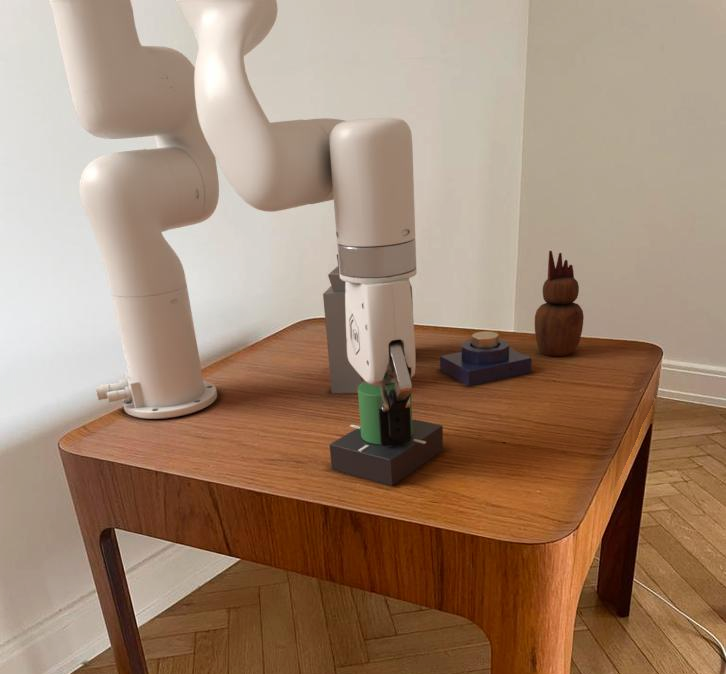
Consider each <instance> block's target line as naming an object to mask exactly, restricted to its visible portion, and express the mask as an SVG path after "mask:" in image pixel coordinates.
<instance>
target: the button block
mask: <svg viewBox="0 0 726 674" xmlns="http://www.w3.org/2000/svg"><path fill="white" fill-rule="evenodd" d="M439 364H440V365H439V368H440V369H439V370H440V372H442V373H444V374H446V375H447V376H449V377H451V378H453V379H454V380H456V381H458V382H460V383H462V384H463V385H465V386H467V387H473V386H477V385H482V384H487V383H491V382H496V381H499V380H505V379H510V378H515V377H518V376H519V377H520V376H523V375H528V374H531V373H532V357H531V356H528V355H526V354H524V353H521V352H520V351H517V350H515V349H513V348H510V343H509V341H507V340H505V339H502V338H498V347H496V348H492V349H477V348H473V347H472V338H471V339H467V340H465V341H463V342H462V343H461V351H459V352H454V353H449V354H444V355H440V356H439Z"/></svg>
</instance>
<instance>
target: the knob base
mask: <svg viewBox="0 0 726 674" xmlns="http://www.w3.org/2000/svg"><path fill="white" fill-rule="evenodd" d="M412 426H413V434H412V436H411V440H410V441H409V442H406V443H400V444H395V445H389V446H383V445H379V444H372V443H369V442H366V441H365V440H363V439H362V437H361V429H360V425H356V424H350V425H349V428H353V430H352V431H349V432H348V433H346V434H344V435H343V436H341V437H340V438H338V439H336V440H335V441H333V442H331V443H329V454H330V464H331V470H332V471H335V472H340V473H343V474H347V475H351V476H353V477H359V478H362V479H365V480H369V481H372V482H375V483H380V484H383V485H386V486H391V487H393V486H395V485H396V484H397V483H399V482H400V481H402V480H403V479H405V478H406V477H407V476H409V475H410V474H412V473H413V472H415V471H416V470H417V469H419V468H420V467H421V466H423V465H424V464H426V463H427V462H428V461H429V460H431V459H432V458H434V457H435V456H437V455H438V454H440V453H441V452H442V451H444V431H443V430H444V429H443V427H444V426H443V425H442V424H438V423H432V422H428V421H423V420H420V419H414V417H412Z"/></svg>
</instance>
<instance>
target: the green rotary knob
mask: <svg viewBox="0 0 726 674" xmlns="http://www.w3.org/2000/svg"><path fill="white" fill-rule="evenodd" d="M390 378H394V377H392V376H389V377H384V379H390ZM394 385H395V384H391V385H386V387H387V394H388V395H389V393H390V390H393V389H394ZM409 397H410V423H411V436H412V434H413V426H412V418H413V404H412V401H413V399H412V391H411V392H410V396H409ZM357 398H358V412H359V413H358V414H359V415H358V416H359V426H360V429H361V437H362V439H363V440H365V441H366V442H369V443H372V444H379V445H382V444H381V442H380V429H379V412H378V409H381V408H382V407H381V400H380V393H379V387H378V382H376V384H375V385H371V384H369V383H367V382H366V381H365V380H364V382H363V383H361V384H360V385H359V386H358V393H357Z"/></svg>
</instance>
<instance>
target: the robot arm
mask: <svg viewBox="0 0 726 674" xmlns="http://www.w3.org/2000/svg"><path fill="white" fill-rule="evenodd" d="M48 1H49V5H50V8H51V11H52V15H53V16H52V17H53V21H54V26H55V31H56V35H57V36H56V37H57V39H58V40H57V41H58V44H59V48H60V52H61V57H62V61H63V66H64V70H65V75H66V80H67V83H68V88H69V92H70V95H71V100H72V105H73V107H74V110H75V114H76V116H77V118H78V121H79V122H80V124H81V126H82V128H83V129H84V130H85V131H86V132H87V133H88V134H90V135H92V136H94V137H96V138H100V139H104V140H105V139H108V140H120V139H121V140H123V139H124V140H125V139H136V138H145V137H154V139H155V143H156V147H157V148H143V149H135V150H126V151H117V152H113V153H111V152H110V153H107V154H104V155H102V156H99V157H96V158H95V159H93V160H92V161H90V162H89V163H88V164H87V165H86V166H85V168H84V169H83V171H82V173H81V175H80V179H79V185H78V186H79V187H78V189H79V197H80V200H81V201H80V202H81V205H82V208H83V210H84V213H85V216H86V218H87V220H88V222H89V225H90V227H91V230H92V232H93V235H94V237H95V240H96V243H97V245H98V249H99V252H100V255H101V259H102V262H103V266H104V270H105V273H106V278H107V283H108V287H109V292H110V294H111V295H110V296H111V299H112V304H113V305H112V306H113V309H114V314H115V317H116V322H117V327H118V331H119V336H120V340H121V341H120V342H121V346H122V350H123V355H124V360H125V364H126V368H127V371H125V372H124V377H125V378H121V379H120V378H119V379H118V382H115V383H105V384H99V385H95V386H94V389H95V393H96V397H97V401H102V400H108V403H114V402H118V401H121V400H122V406H123V410H124V412H125V413H126V414H127V415H130V417H131V416H132V417H134V418H139V419H148V420H152V419H153V420H159V419H171V418H177V417H180V416H181V417H182V416H186V415H190V414H193V413H196V412H198V411H201V410H204V409H205V408H207V407H209V406H211V405H212V404H213V403H214V402H216V400H217V398H218V392H217V391H218V390H217V387H216V385H214V384H213V383H211V382H209V381H206V380H204V377H203V371H202V364H201V358H200V353H199V348H198V347H199V346H198V343H197V342H198V341H197V336H196V331H195V324H194V318H193V312H192V308H191V307H192V306H191V301H190V297H189V296H190V295H189V290H188V284H187V279H186V273H185V270H184V269H185V268H184V265H183V264H182V261H181V259H180V257H179V256H178V254H177V253H176V251H175V250H174V249H173V248H172V246H171V245H170V243H169V242H168V241H167V239H166V238H165V236H164V235H163V233H164V232H167V231H170V230H175V229H180V228H184V227H188V226H193V225H196V224H200V223H203V222H205V221H206V220H208V219H210V218H211V217H212V215H213V214H214V213H215V212H216V210H217V207H218V203H219V199H220V181H219V173H218V166H217V164H218V165H219V167H220V169H221V171H222V173H223V175H224V177H225V178H226V179H227V182H228V183H229V184H230V186H231V187H232V188H233V190H234V191H235V193H236V194H237V195H238V196H239V197H240V198H241V199H242V201H244V202H245V203H246V204H248V205H249V206H251V207H252V208H254V209H256V210H258V211H263V212H268V213H269V212H274V213H275V212H279V211H280V212H281V211H285V210H290V209H295V208H298V207H303V206H306V205H307V206H308V205H314V204H320V203H324V202H329V201H333V205H334V206H333V207H334V221H335V235H336V243H337V244H336V245H337V254H338V260H337V262H338V261H339V273H340V279H341V280H342V281H345V282H346V284H345V312H346V341H347V357H348V360H349V362H350V364H351V365H352V366H353V368H354V369H355V370H356V371H357V372H358V373H359V375H360V376H361V383H363V382H364V380H365V381H366V382H367V383H369V384H371V385H375V384H376V382H378V387H379V393H380V400H381V407H382V408H381V409H378V412H379V429H380V442H381V444H382V445H383V446H389V445H395V444H400V443H406V442H409V441H410V440H411V423H410V397H409V396H410V392H411V393H412V391H413V384H412V380H411V379H412V378H413V377H414V376H415V374H416V366H417V365H416V364H417V363H416V361H417V359H416V358H417V357H416V355H417V354H416V338H415V336H416V334H415V320H414V307H413V308H412V299H413V297H412V298H411V290H410V284H411V282H409V281H410V279H411V278H413V277H415V276H416V275H417V273H418V271H417V247H416V245H417V244H416V241H417V240H416V215H415V214H416V212H415V185H414V184H415V183H414V182H415V181H414V155H413V154H414V151H413V134H412V131H411V128H410V125H409V124H408V123H407V122H406V121H405V120H404V119H402V118H399V117H373V118H360V119H350V120H344V119H340V118H339V119H337V118H329V117H327V118H326V117H325V118H311V119H310V118H309V119H293V120H282V121H273V122H270V120H269V118H268V116H267V115H266V113H265V112H264V109H263V108H262V106H261V104H260V103H259V100H258V98H257V96H256V94H255V93H254V90H253V88H252V85H251V83H250V80H249V78H248V73H247V71H246V66H245V56H247V54H249V53H250V52H251V51H253V50H254V49H255V48H256V47H257V46H258V45H260V44H261V43H262V42H263V41H264V40H265V39H266V37H267V36H268V35H269V33H270V32H271V30H272V29H273V27H274V25H275V24H276V21H277V16H278V9H279V8H278V2H277V0H175V2H176V4H177V6H178V8H179V10H180V12H181V14H182V16H183V18H184V19H185V21H186V23H187V25H188V27H189V29H190V31H191V33H192V34H193V36H194V38H195V40H196V41H195V42H196V43H197V46H198V50H197V55H196V56H197V57H196V60H195V66H194V64H193V63H192V62H191V61H190V60H189V58H188V57H187V56H186V55H185V54H183V53H182V52H180V51H179V50H177V49H175V48H171V47H167V46H160V45H159V46H158V45H142V44H141V41H140V38H139V35H138V31H137V27H136V23H135V15H134V10H133V4H132V1H131V0H48ZM388 373H389V374H390V373H391V374H392V376H393V378H390V379H384V377H388ZM391 384H395V385H394V389H393V390H390V393H389V395H388V394H387V387H386V385H391Z"/></svg>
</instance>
